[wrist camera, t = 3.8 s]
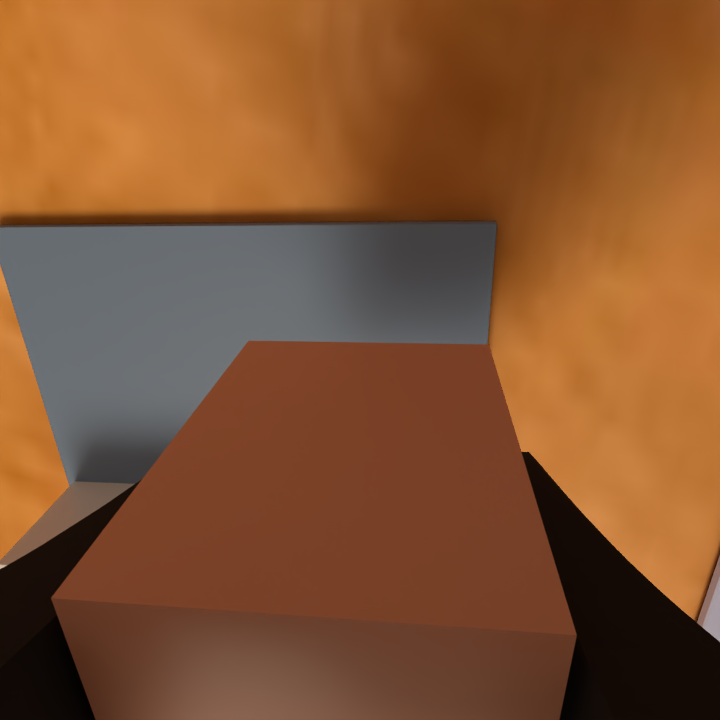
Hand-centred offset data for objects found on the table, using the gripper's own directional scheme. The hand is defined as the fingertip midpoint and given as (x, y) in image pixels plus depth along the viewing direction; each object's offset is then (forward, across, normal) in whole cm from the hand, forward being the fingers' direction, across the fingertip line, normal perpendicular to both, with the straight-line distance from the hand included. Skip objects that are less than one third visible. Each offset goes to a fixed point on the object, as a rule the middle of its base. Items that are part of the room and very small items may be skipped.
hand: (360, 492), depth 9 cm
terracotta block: (+2, 0, 0) cm, 2 cm away
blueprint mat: (+7, +4, +5) cm, 9 cm away
